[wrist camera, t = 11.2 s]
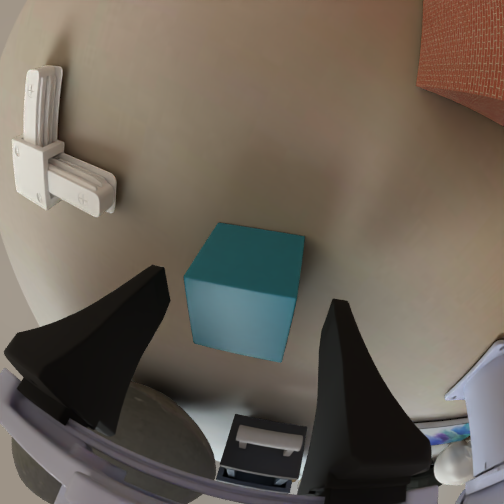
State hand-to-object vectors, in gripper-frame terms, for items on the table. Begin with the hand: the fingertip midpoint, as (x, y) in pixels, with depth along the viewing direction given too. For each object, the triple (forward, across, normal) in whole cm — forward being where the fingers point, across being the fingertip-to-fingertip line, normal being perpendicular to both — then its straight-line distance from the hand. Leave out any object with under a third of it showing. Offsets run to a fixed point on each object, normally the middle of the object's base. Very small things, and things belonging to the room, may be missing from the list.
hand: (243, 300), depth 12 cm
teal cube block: (+3, 0, 0) cm, 3 cm away
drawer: (+2, -3, +20) cm, 21 cm away
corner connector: (+3, +10, -6) cm, 12 cm away
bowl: (-1, +14, +13) cm, 19 cm away
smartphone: (+3, -22, +20) cm, 30 cm away
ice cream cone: (+2, -37, +13) cm, 39 cm away
